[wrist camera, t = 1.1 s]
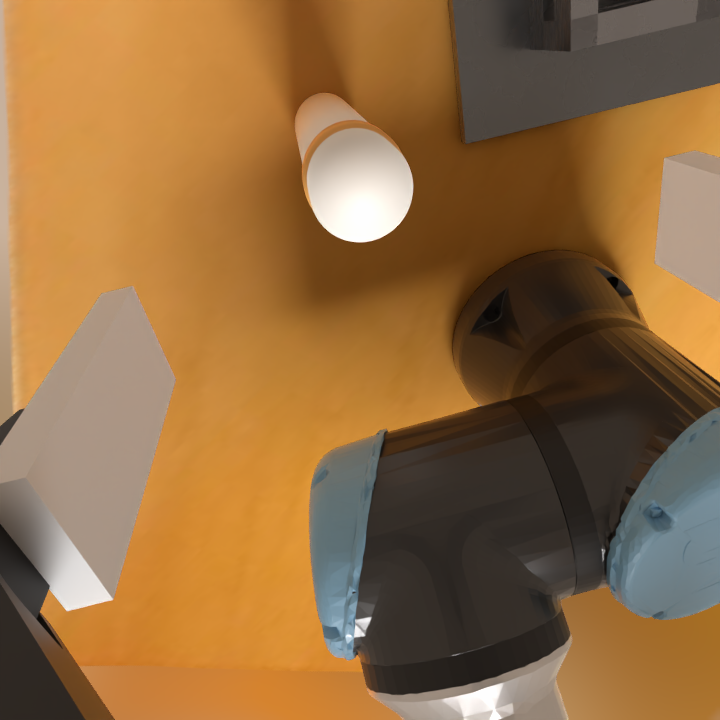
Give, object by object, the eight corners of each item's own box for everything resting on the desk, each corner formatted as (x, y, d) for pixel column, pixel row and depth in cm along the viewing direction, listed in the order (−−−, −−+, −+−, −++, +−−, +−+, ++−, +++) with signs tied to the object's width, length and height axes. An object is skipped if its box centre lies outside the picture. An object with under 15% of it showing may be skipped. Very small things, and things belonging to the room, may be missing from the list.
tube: (362, 151, 37) (424, 232, 22) (301, 166, 37) (320, 256, 22) (349, 82, 35) (408, 118, 20) (284, 98, 35) (292, 146, 20)
